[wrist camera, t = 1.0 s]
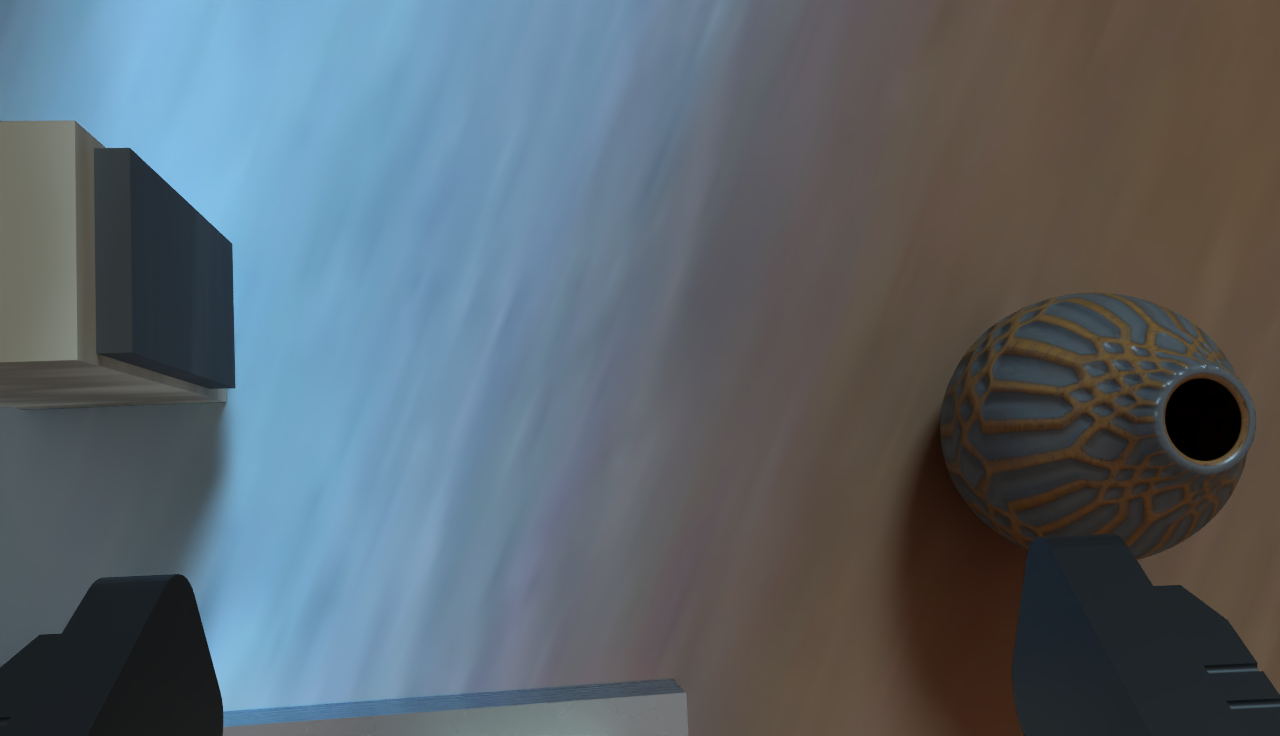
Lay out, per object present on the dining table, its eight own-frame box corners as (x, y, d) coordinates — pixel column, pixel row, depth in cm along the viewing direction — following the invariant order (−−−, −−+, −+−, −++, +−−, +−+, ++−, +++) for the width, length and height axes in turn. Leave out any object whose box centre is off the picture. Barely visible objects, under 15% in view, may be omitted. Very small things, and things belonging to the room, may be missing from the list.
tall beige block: (24, 409, 31) (-256, 371, 19) (23, 255, 31) (-254, 123, 19) (250, 400, 32) (115, 358, 20) (247, 250, 32) (112, 120, 20)
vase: (1058, 602, 34) (1256, 645, 26) (862, 465, 34) (995, 462, 25) (1177, 401, 35) (1406, 378, 27) (988, 266, 35) (1158, 197, 26)
